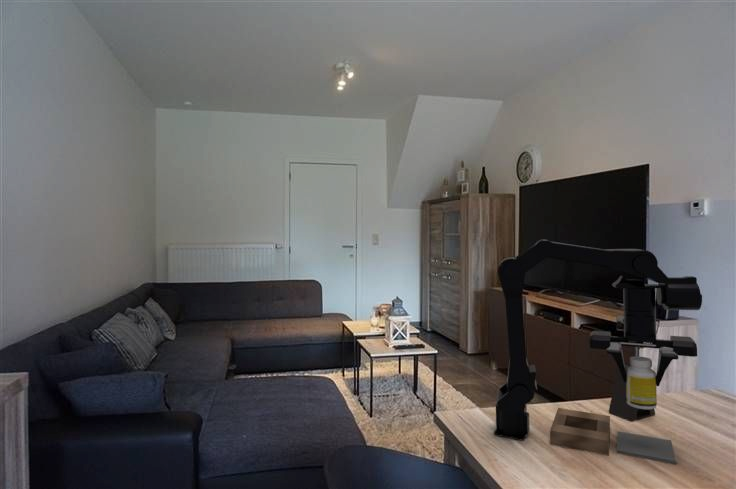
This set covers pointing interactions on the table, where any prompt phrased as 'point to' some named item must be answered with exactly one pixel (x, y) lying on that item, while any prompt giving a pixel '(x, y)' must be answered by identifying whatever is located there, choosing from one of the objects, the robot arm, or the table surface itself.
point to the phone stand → (625, 401)
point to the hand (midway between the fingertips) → (641, 383)
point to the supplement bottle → (641, 383)
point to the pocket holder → (581, 431)
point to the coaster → (645, 447)
